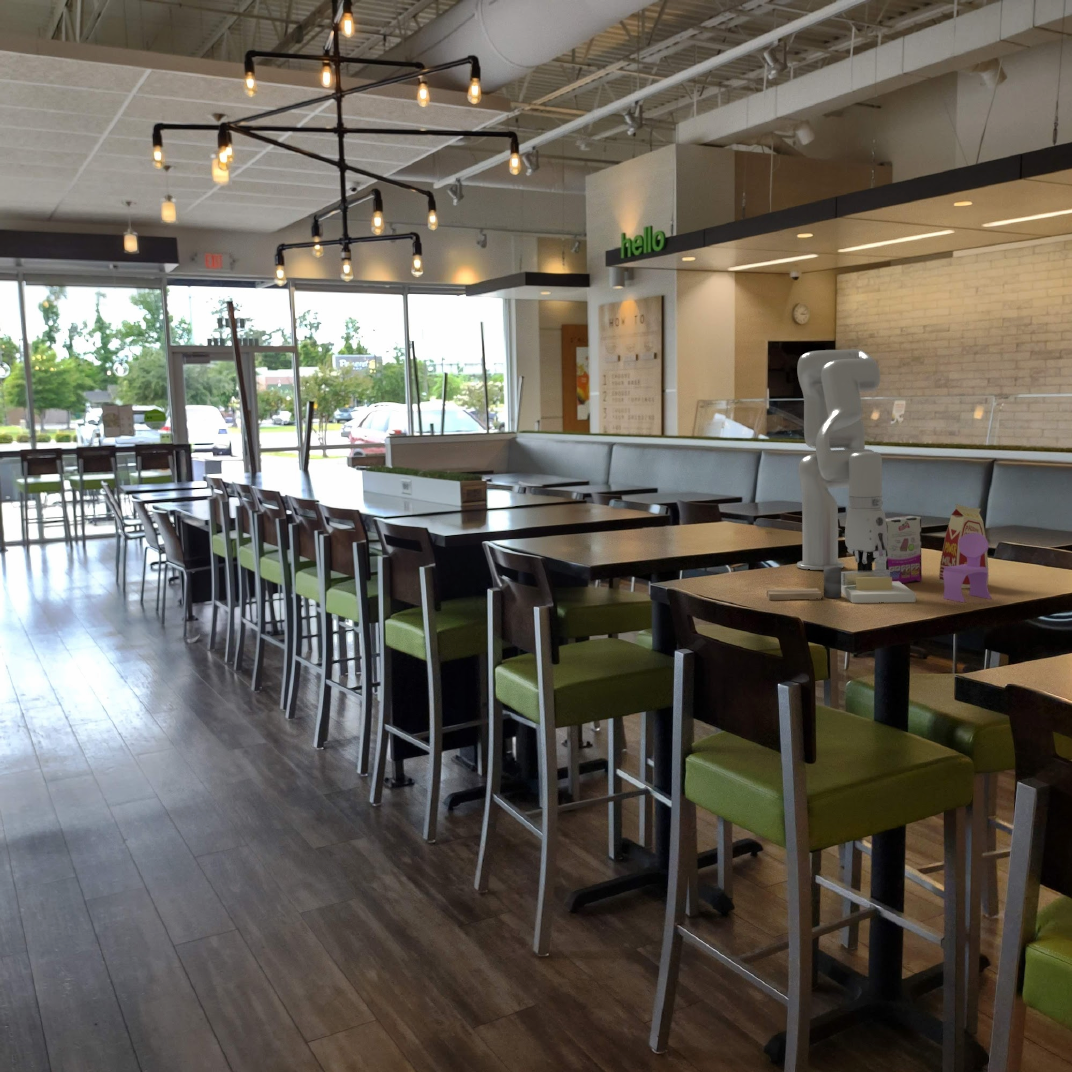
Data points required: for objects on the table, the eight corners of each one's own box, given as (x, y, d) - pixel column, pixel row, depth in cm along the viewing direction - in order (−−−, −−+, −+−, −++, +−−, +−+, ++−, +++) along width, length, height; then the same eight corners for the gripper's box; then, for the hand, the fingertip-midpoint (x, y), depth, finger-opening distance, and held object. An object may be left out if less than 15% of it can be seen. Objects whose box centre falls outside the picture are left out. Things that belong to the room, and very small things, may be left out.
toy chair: (938, 598, 233) (938, 533, 231) (966, 594, 237) (967, 530, 235) (966, 604, 226) (967, 537, 224) (995, 599, 229) (996, 534, 227)
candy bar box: (908, 578, 259) (908, 515, 257) (922, 581, 255) (922, 516, 253) (873, 583, 255) (873, 518, 253) (886, 586, 251) (887, 520, 249)
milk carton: (959, 588, 244) (960, 506, 242) (936, 582, 253) (937, 502, 251) (992, 585, 246) (994, 503, 243) (969, 579, 255) (970, 500, 252)
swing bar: (844, 586, 239) (844, 573, 238) (840, 584, 241) (840, 571, 241) (890, 582, 240) (890, 570, 240) (885, 581, 243) (885, 568, 242)
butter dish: (839, 590, 247) (839, 571, 247) (898, 589, 245) (898, 569, 245) (851, 602, 231) (851, 582, 231) (915, 602, 230) (915, 581, 229)
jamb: (766, 595, 244) (766, 566, 244) (838, 594, 242) (838, 565, 242) (769, 600, 239) (769, 570, 238) (843, 598, 236) (843, 569, 236)
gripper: (900, 504, 237) (899, 581, 239) (855, 500, 250) (855, 573, 252) (875, 507, 233) (875, 585, 236) (831, 502, 247) (831, 576, 249)
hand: (864, 578), depth 244 cm, fingers closed
